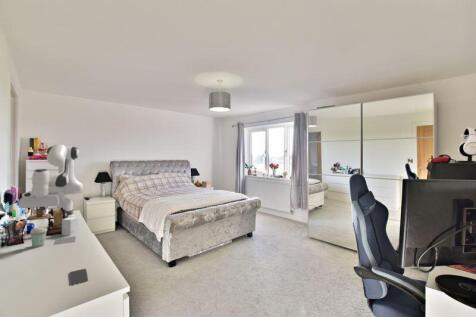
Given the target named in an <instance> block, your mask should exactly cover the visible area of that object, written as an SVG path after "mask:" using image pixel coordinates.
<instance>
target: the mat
mask: <svg viewBox="0 0 476 317" xmlns="http://www.w3.org/2000/svg"><path fill="white" fill-rule="evenodd" d="M75 242H76V236H75V235H74V236H67V237H62V238H56V239H54V242H53V246H56V245H63V244H70V243H75Z"/></svg>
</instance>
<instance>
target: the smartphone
mask: <svg viewBox="0 0 476 317" xmlns="http://www.w3.org/2000/svg"><path fill="white" fill-rule="evenodd" d="M69 280H70V284H69V286H70V285H72V286H75V285H74V284H76V285H78V284H79V283H80V284H84V283H86V282H88V281H89V277H88V272H87V269H86V268H81V269H78V270H73V271H70V272H69V273H68V281H69ZM80 284H79V285H80Z"/></svg>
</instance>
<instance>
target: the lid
mask: <svg viewBox="0 0 476 317" xmlns="http://www.w3.org/2000/svg"><path fill="white" fill-rule="evenodd" d="M43 210H44V207H38V208H36V210H35V211H36V214H31V215H29V216H28V217H27V218H26V221H27V222H28V221H34V220H36V221H37V220H44V219H47V220H48V218H50V216H51V214H48V213H43ZM51 217H52V216H51Z"/></svg>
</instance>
